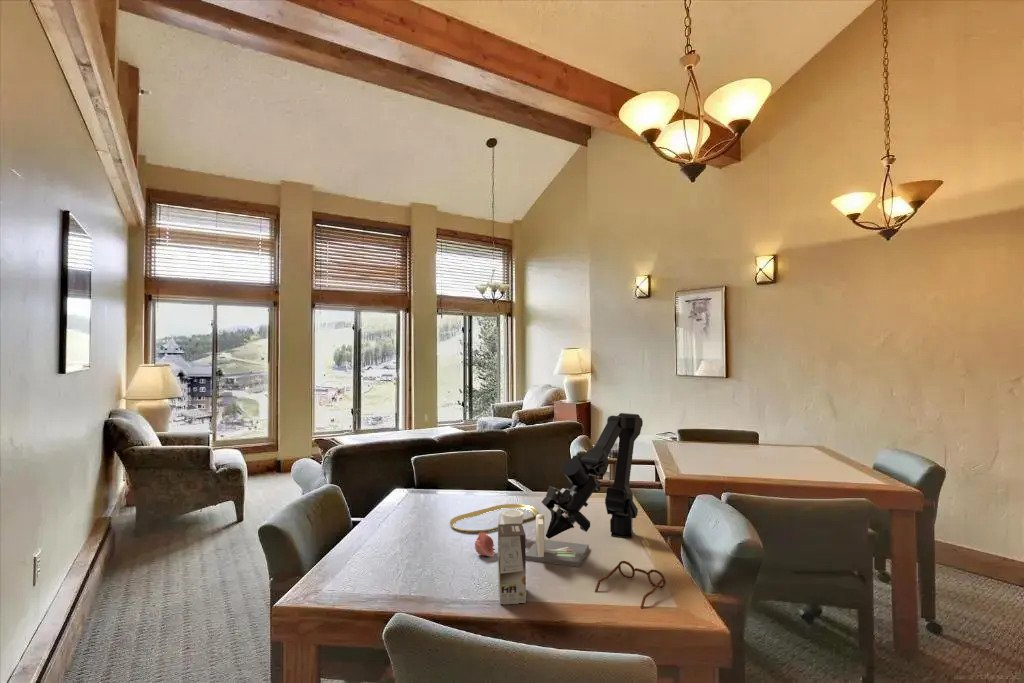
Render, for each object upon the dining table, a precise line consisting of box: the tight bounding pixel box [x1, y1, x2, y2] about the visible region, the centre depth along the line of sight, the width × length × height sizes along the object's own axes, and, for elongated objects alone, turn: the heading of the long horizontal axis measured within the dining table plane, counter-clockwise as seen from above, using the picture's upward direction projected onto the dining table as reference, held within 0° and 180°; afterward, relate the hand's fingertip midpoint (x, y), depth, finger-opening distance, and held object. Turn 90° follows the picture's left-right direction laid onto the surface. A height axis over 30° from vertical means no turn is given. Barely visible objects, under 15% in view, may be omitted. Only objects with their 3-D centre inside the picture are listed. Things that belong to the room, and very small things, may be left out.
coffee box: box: [497, 522, 527, 605], centre depth 126 cm, size 9×6×16 cm
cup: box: [498, 509, 525, 525], centre depth 167 cm, size 7×10×8 cm
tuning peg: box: [535, 513, 572, 557], centre depth 148 cm, size 9×10×10 cm
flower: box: [474, 531, 496, 558], centre depth 152 cm, size 8×8×6 cm
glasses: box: [594, 560, 667, 610], centre depth 128 cm, size 13×13×5 cm
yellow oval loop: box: [449, 503, 538, 534], centre depth 184 cm, size 19×35×2 cm, turn 132°
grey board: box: [526, 539, 590, 568], centre depth 152 cm, size 16×14×1 cm
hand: (547, 537), depth 146 cm, fingers closed
